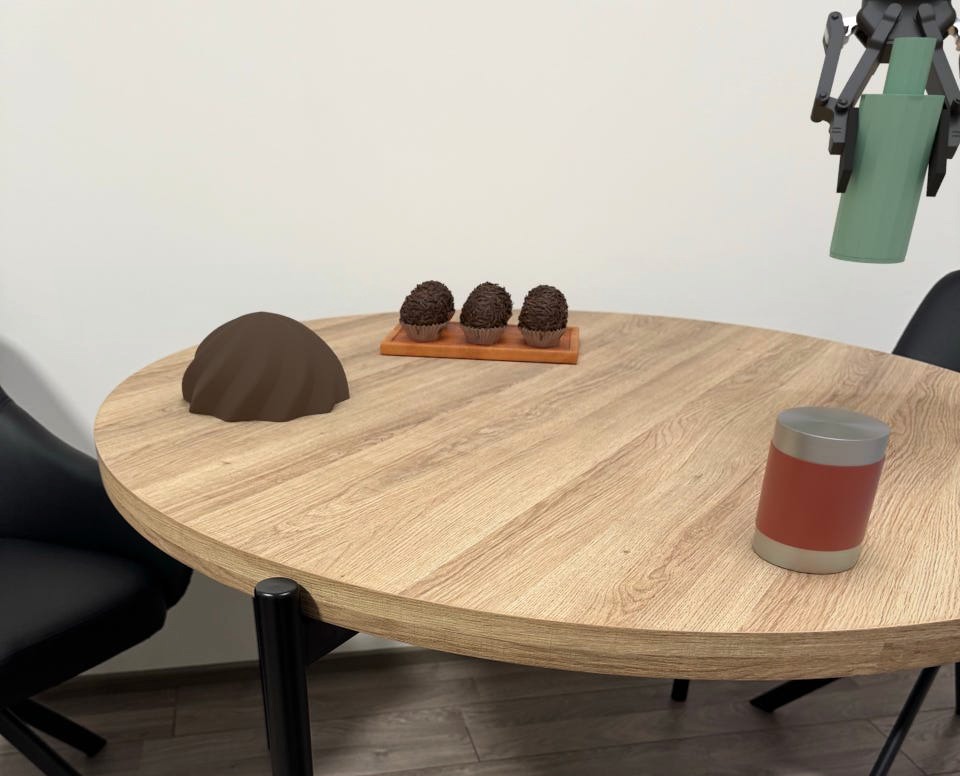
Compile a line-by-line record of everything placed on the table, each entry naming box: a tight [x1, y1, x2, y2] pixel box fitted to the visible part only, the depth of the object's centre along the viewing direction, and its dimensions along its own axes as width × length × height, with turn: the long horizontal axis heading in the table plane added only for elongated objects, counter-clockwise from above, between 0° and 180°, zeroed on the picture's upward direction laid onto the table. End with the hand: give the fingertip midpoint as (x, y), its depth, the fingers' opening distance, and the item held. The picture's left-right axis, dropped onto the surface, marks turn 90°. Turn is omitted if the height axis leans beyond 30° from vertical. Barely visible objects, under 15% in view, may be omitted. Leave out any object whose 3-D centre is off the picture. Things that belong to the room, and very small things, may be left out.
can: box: [751, 406, 892, 575], centre depth 73 cm, size 9×9×11 cm
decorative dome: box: [181, 310, 350, 423], centre depth 107 cm, size 19×20×10 cm
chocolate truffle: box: [379, 279, 580, 365], centre depth 133 cm, size 28×17×8 cm, turn 84°
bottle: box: [828, 37, 945, 265], centre depth 80 cm, size 7×7×17 cm
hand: (889, 183), depth 78 cm, fingers closed on bottle, 7 cm apart
